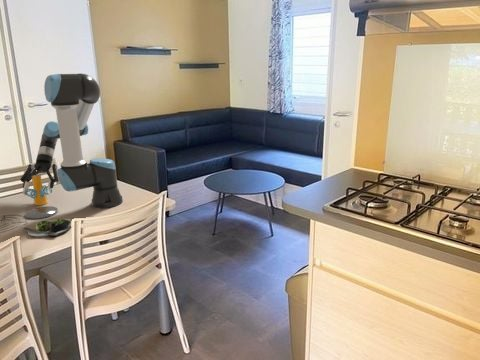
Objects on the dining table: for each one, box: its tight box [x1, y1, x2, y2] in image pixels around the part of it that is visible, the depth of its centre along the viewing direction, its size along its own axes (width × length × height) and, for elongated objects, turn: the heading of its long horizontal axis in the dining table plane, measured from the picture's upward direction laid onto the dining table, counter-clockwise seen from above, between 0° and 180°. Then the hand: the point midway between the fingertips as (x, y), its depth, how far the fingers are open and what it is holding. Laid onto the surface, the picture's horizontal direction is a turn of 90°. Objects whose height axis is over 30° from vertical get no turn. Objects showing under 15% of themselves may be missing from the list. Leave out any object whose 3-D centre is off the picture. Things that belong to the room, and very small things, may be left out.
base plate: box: [24, 205, 59, 220], centre depth 185 cm, size 14×14×1 cm
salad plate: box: [22, 218, 72, 238], centre depth 166 cm, size 19×18×5 cm
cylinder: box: [25, 174, 53, 206], centre depth 196 cm, size 12×10×15 cm
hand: (36, 193), depth 194 cm, fingers closed on cylinder, 11 cm apart
